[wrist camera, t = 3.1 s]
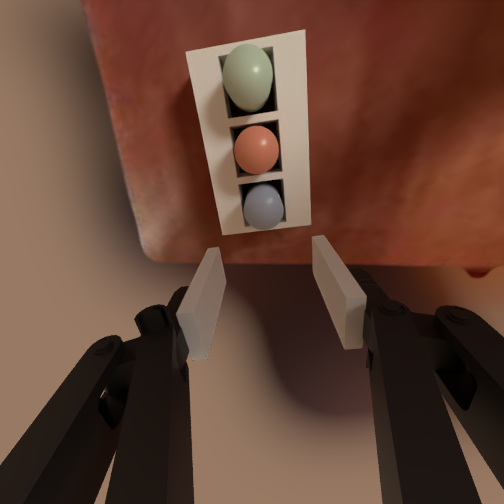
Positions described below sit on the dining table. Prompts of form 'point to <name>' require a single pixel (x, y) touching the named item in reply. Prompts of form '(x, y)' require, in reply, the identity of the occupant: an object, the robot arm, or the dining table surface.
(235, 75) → the button sage
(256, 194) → the button slate
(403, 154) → the dining table surface
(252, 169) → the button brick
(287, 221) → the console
